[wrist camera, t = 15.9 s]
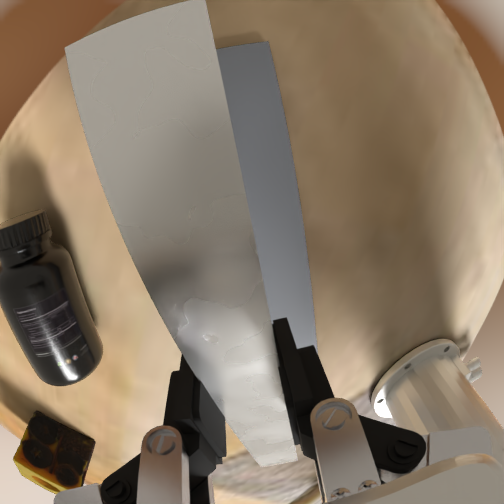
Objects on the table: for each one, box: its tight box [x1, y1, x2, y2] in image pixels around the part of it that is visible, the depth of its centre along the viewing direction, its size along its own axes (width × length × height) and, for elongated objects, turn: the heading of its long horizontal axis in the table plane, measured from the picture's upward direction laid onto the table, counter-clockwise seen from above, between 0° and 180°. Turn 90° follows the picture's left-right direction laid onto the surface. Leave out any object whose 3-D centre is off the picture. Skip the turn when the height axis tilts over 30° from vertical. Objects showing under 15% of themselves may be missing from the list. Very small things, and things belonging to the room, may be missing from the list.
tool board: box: [216, 41, 318, 354], centre depth 19 cm, size 9×28×1 cm, turn 11°
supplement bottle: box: [0, 209, 103, 386], centre depth 16 cm, size 7×7×12 cm
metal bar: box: [65, 0, 298, 467], centre depth 11 cm, size 2×22×4 cm, turn 11°
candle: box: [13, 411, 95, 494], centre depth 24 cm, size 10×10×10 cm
